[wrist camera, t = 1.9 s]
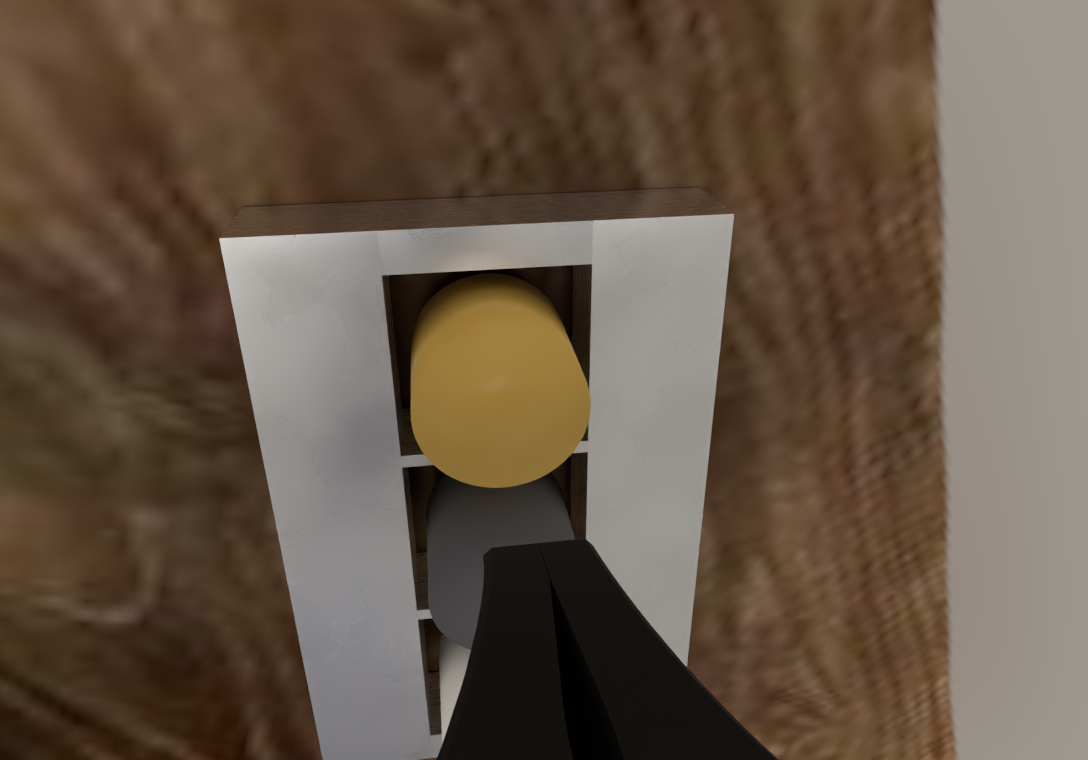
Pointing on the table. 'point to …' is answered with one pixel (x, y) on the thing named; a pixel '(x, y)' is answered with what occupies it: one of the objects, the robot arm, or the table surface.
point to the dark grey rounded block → (482, 541)
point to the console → (387, 436)
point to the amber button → (495, 383)
